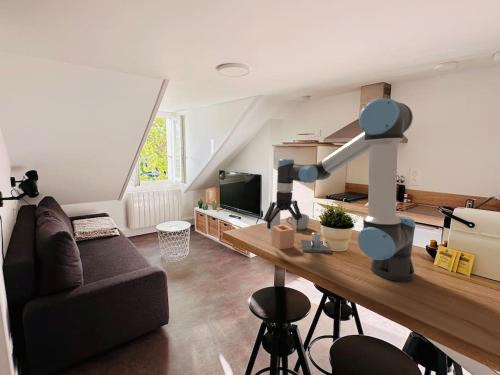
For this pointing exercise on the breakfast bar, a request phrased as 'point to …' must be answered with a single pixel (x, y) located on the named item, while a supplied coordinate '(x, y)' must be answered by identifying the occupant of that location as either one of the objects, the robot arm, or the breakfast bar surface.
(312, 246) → the board
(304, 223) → the teacup
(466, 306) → the breakfast bar surface
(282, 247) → the pink square pen holder
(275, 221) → the supplement box
